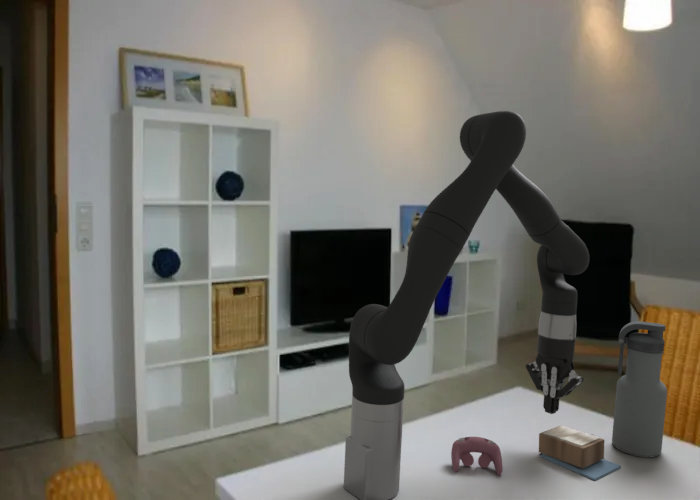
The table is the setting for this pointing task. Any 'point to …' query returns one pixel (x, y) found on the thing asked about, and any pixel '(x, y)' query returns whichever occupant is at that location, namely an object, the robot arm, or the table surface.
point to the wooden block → (571, 446)
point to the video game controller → (476, 444)
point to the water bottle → (640, 392)
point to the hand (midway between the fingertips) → (550, 412)
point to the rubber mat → (588, 467)
